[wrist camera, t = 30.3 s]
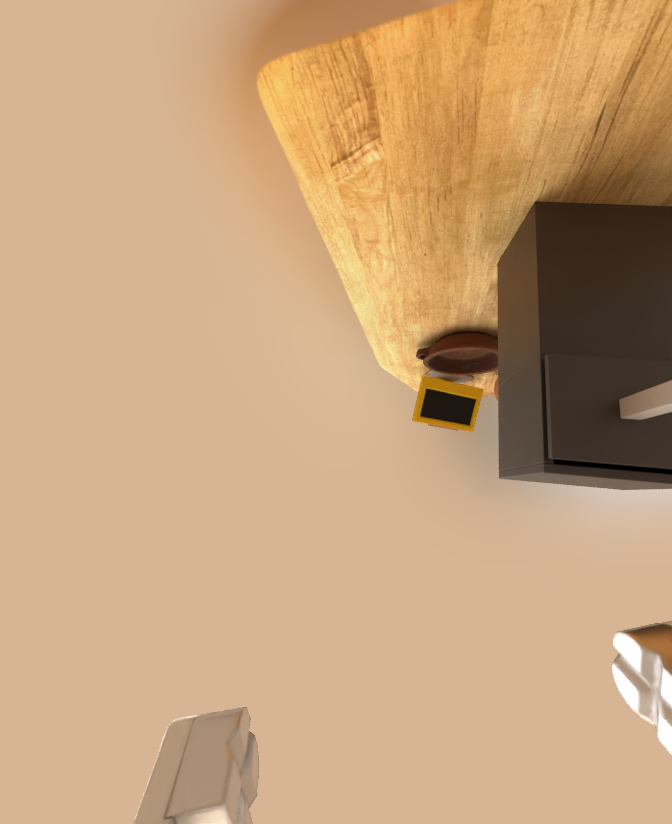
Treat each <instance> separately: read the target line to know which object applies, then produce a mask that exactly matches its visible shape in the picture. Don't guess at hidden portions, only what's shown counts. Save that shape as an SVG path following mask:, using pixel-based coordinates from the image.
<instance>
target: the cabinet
mask: <svg viewBox="0 0 672 824" xmlns="http://www.w3.org/2000/svg"><path fill="white" fill-rule="evenodd" d="M548 353H553V354H569V355H584V356H599V357H614V358H630V359H645V360H660V361H672V207H658V206H630V205H602V204H574V203H546V202H535V203H534V204H533V206H532V208H531V209H530V211H529V213H528V214H527V216H526V218H525V219H524V221H523V223H522V224H521V226H520V227H519V229H518V231H517V232H516V234H515V236H514V237H513V239H512V241H511V242H510V244H509V246H508V247H507V249H506V250H505V252H504V254H503V255H502V257H501V259H500V260H499V262H498V404H499V478H500V479H511V480H521V481H532V482H543V483H554V484H566V485H576V486H588V487H598V488H609V489H620V490H633V489H634V490H637V489H672V469H662V468H650V467H639V466H627V465H616V464H604V463H592V462H581V461H569V460H558V459H549V458H548V432H547V405H546V379H545V355H547V354H548Z"/></svg>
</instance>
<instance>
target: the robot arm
mask: <svg viewBox="0 0 672 824" xmlns="http://www.w3.org/2000/svg"><path fill="white" fill-rule="evenodd" d="M613 646H614V647H615V648H616V649H617V650H618V651H619V654H618V656H617V657H616V659H615V660H614V661H613V676H614V679H615V682H616V684H617V687H618V689H619V691H620V693H621V694H622V696H623V697H624V699H625V700H626V702H627V703H628V704H629V706H630V707H631V708H632V709H633V710H634V712H635V713H636V714H637V715H638V716H640V717H641V718H643V719H645V720H647V721H648V722H650V723H652V724H653V725H655V728H656V732H657V736H658V740H659V741H660V742H661V743H662V744H663V745H664V746H665V748H666V749H667V750H668V751H669V752H670V753H671V754H672V621H668V622H663V623H655V624H650V625H646V626H641V627H637V628H632V629H628V630H623V631H618V632H617V633H616V635H615V636H614V644H613ZM250 720H251V719H250V715H249V712H248V709H247V707H243V708H237V709H232V710H225V711H219V712H214V713H207V714H201V715H196V716H190V717H186V718H180V719H174V720H172V722H171V723H170V725H169V726H168V728H167V730H166V732H165V735H164V738H163V741H162V744H161V746H160V749H159V752H158V755H157V758H156V760H155V763H154V766H153V769H152V772H151V775H150V777H149V780H148V783H147V786H146V789H145V792H144V795H143V797H142V800H141V803H140V806H139V809H138V812H137V814H136V817H135V820H134V823H133V824H253V822H252V818H251V815H250V811H249V808H250V807H251V805H252V803H253V801H254V800H255V798H256V796H257V788H258V778H259V756H258V747H257V742H256V738H255V735H254V734H252V733H251V732H250V731H249V727H250Z"/></svg>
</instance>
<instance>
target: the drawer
mask: <svg viewBox="0 0 672 824" xmlns="http://www.w3.org/2000/svg"><path fill="white" fill-rule="evenodd" d="M545 379H546V405H547V432H548V458H549V459H558V460H569V461H581V462H592V463H604V464H616V465H627V466H639V467H650V468H662V469H672V361H660V360H645V359H630V358H614V357H599V356H584V355H569V354H553V353H548V354H547V355H545Z"/></svg>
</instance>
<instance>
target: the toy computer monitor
mask: <svg viewBox="0 0 672 824" xmlns="http://www.w3.org/2000/svg"><path fill="white" fill-rule="evenodd" d="M472 380H473V377H472V376H468V375H448V374H442V373H439V372H435V371H433V370H430V371H429V372H428V373H427V374H425V375H423V376H422V379H421V383H420V388H419V392H418V397H417V401H416V406H415V410H414V414H413V418H412V420H413V421H415V422H421V423H426V424H428V425H430V426H435V427H441V428H447V429H452V430H458V429H459V430H465V431H470V432H473V429H474V425H475V421H476V417H477V413H478V409H479V405H480V401H481V397H482V393H483V389H480V388H476V387H472V386H467V385H463V384H460V383H464V382H468V381H472Z"/></svg>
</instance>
